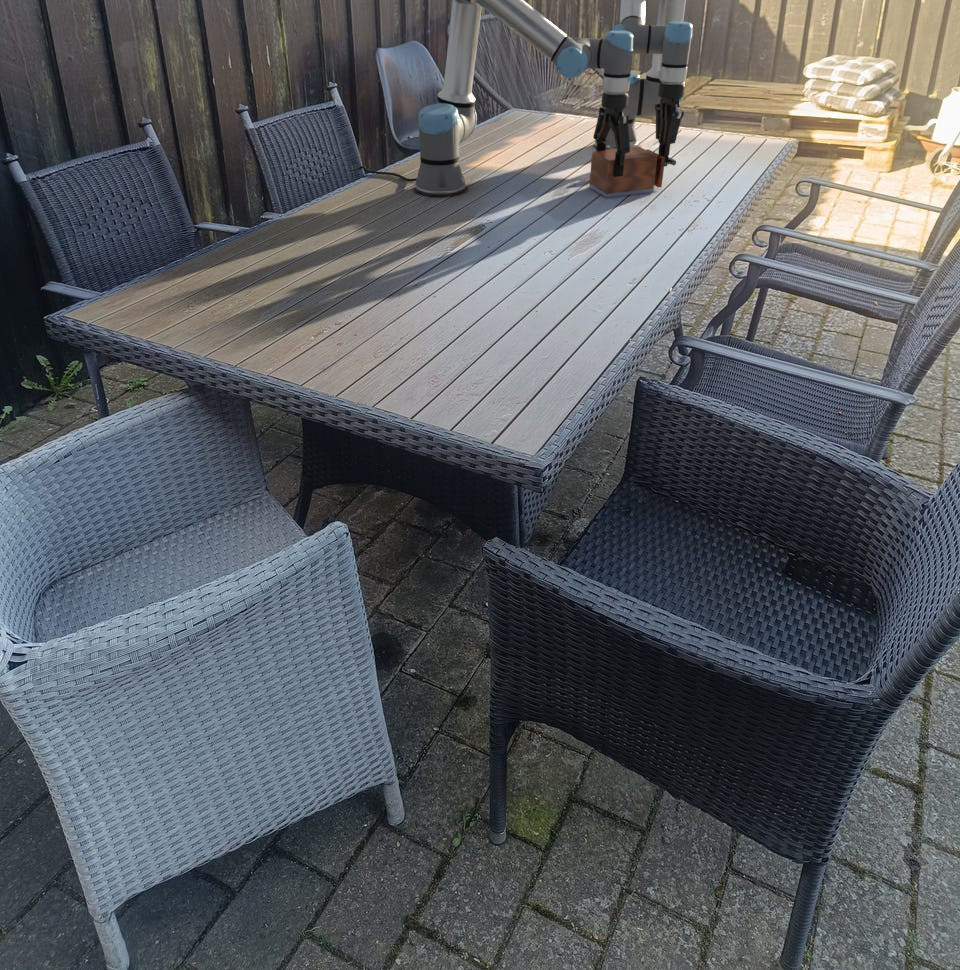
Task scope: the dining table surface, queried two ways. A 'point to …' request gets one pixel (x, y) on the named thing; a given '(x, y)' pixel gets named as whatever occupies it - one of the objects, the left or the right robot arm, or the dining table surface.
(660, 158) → the drawer
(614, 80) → the left robot arm
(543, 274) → the dining table surface
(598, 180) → the cabinet
